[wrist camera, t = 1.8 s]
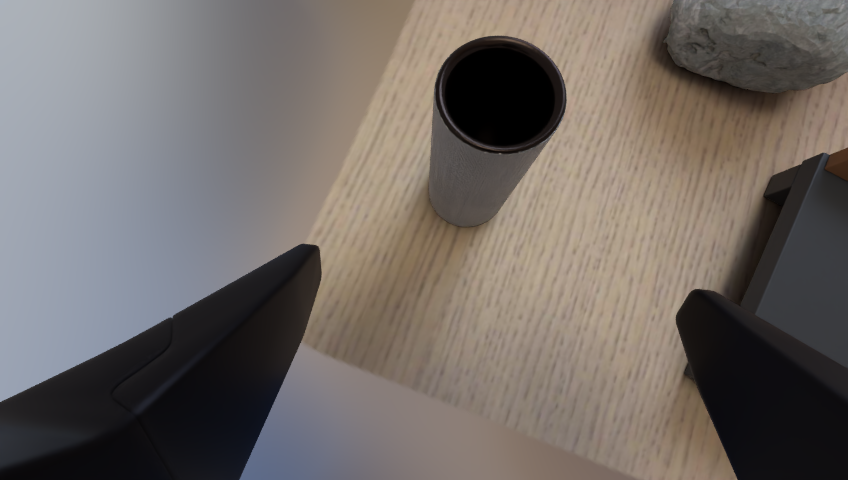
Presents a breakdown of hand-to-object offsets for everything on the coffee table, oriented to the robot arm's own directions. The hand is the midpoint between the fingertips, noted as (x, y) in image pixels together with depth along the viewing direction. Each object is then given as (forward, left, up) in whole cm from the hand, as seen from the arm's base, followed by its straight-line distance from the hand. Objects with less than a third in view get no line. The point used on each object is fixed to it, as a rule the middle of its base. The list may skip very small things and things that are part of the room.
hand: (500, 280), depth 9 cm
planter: (+6, +3, -13) cm, 14 cm away
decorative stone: (+26, -8, -13) cm, 30 cm away
